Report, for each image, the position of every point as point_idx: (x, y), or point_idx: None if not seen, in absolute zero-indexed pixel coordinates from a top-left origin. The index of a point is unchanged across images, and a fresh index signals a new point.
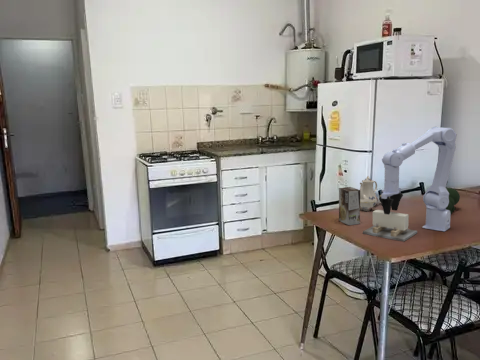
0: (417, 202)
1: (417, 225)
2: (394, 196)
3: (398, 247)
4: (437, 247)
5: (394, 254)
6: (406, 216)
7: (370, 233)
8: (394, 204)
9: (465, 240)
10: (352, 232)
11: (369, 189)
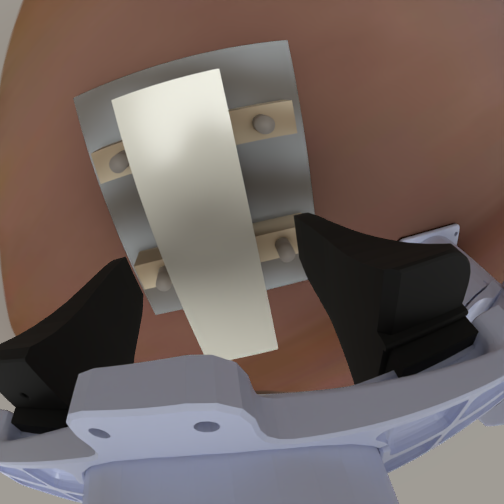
0: None
1: (424, 200)
2: (364, 341)
3: None
4: None
5: None
6: (238, 353)
7: (88, 145)
8: (319, 271)
9: (335, 381)
10: (55, 51)
11: None
